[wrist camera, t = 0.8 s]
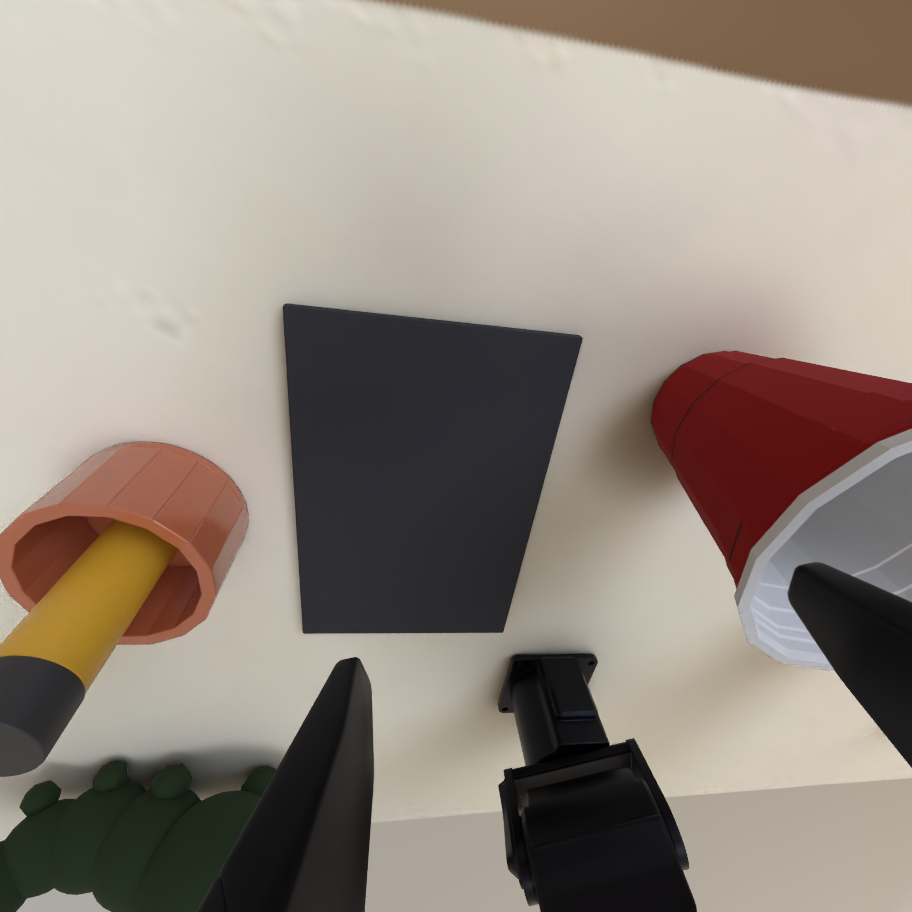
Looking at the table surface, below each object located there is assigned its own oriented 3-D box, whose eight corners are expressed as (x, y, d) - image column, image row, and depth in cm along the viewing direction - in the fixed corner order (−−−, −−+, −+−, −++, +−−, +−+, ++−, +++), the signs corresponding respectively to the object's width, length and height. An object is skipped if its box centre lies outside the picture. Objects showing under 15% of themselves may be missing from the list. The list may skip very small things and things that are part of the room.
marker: (199, 540, 23) (58, 775, 14) (134, 538, 23) (-58, 780, 13) (189, 491, 22) (23, 718, 12) (119, 488, 21) (-110, 722, 12)
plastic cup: (558, 401, 22) (699, 580, 12) (762, 245, 19) (1185, 296, 9) (654, 522, 27) (813, 726, 16) (828, 412, 24) (1151, 572, 14)
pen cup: (255, 568, 25) (225, 644, 21) (100, 565, 24) (34, 645, 20) (240, 446, 21) (198, 509, 17) (53, 435, 20) (-42, 499, 16)
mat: (501, 626, 30) (503, 632, 30) (304, 627, 28) (302, 633, 27) (579, 335, 20) (583, 337, 20) (285, 303, 18) (282, 305, 18)
